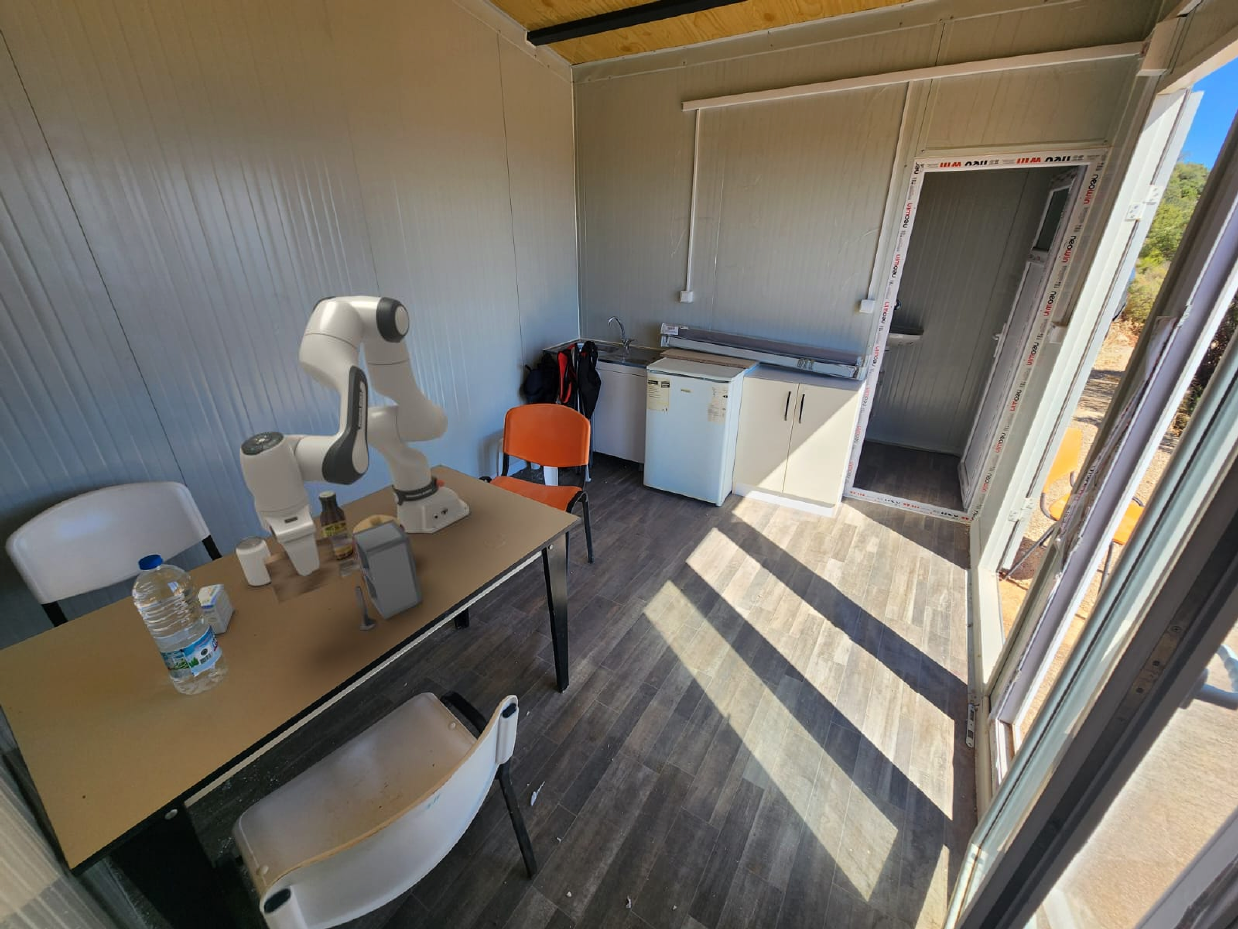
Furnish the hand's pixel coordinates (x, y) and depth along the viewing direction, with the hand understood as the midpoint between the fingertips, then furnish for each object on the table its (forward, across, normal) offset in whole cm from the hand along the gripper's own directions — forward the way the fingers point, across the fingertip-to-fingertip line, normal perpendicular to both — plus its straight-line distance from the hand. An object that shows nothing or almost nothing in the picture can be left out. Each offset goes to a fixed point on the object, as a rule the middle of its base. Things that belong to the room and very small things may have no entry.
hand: (304, 568), depth 104 cm
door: (+5, 0, +2) cm, 5 cm away
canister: (+21, -17, +19) cm, 33 cm away
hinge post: (+20, +1, +8) cm, 22 cm away
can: (+20, -35, -7) cm, 41 cm away
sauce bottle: (+20, -33, +12) cm, 41 cm away
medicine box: (+21, -23, -18) cm, 36 cm away
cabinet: (+20, -3, +17) cm, 27 cm away
